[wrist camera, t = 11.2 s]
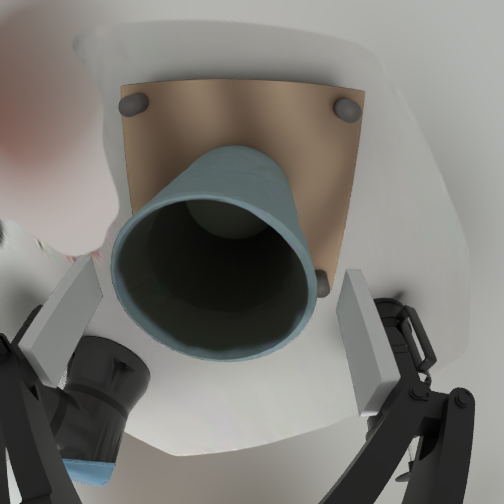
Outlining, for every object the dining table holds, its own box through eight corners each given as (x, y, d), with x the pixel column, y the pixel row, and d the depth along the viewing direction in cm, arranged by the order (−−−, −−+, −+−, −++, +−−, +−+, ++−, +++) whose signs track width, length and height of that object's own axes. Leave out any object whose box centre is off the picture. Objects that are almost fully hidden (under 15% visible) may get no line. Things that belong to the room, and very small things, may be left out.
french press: (377, 353, 45) (408, 490, 26) (327, 339, 43) (348, 495, 24) (425, 300, 39) (486, 447, 20) (376, 279, 37) (434, 452, 18)
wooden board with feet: (162, 242, 36) (137, 292, 28) (151, 80, 26) (109, 88, 18) (321, 250, 35) (334, 304, 28) (343, 85, 26) (373, 93, 18)
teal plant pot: (285, 257, 28) (292, 371, 18) (170, 242, 27) (123, 347, 17) (308, 143, 22) (344, 214, 12) (172, 127, 22) (96, 185, 12)
